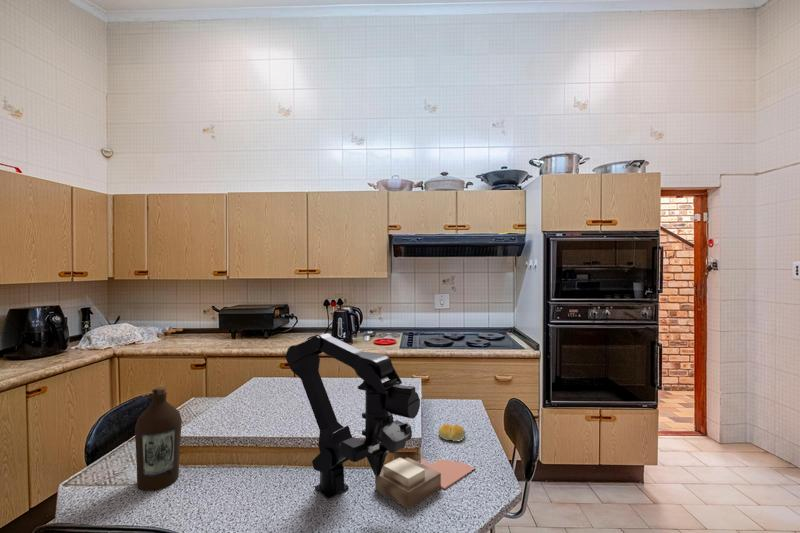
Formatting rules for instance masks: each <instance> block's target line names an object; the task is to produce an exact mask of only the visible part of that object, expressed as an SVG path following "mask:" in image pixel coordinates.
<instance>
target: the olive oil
mask: <svg viewBox="0 0 800 533" xmlns="http://www.w3.org/2000/svg"><path fill="white" fill-rule="evenodd" d="M151 391H152V392H151V393H152V394H151V403H150V404H149V406H148V407H147V408H146V409H145V410H144V411H143V412H142V413H141V414H140V415H139V417H138V418H137V421H136V423H135V426H134V439H135V440H134V441H135V442H134V443H135V459H136V463H135V464H136V486H137V487H136V488H137V489H138V490H139V491H141V492H155V491H160V490H162V489H165V488H167V487H169V486H171V485H173V484H174V483H175V482H177V480H178V479H179V476H180V473H179V471H180V452H181V436H182V423H183V422H182V415H181V412H180V411H179V410H178V409H177V408H176V407H174V406H173V405H172V404H171V403H169V402H168V401H167V387H166V386H157V387H154V388H152V389H151Z"/></svg>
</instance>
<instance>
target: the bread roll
mask: <svg viewBox="0 0 800 533" xmlns="http://www.w3.org/2000/svg"><path fill="white" fill-rule="evenodd" d="M439 435H440V436H439ZM438 436H439V438H440V437H442V438H443V439H446V440H454V441H457V440H461V439H463V437H464V436H465V437H466V430H465V429H464V428H463V427H462V426H460V425H458V424H454V425H451V424H448V423H445V424H443V425H441V426H440V427H439V428H438ZM465 437H464V438H465ZM442 438H441V439H442ZM443 439H442V440H443ZM446 440H445V441H446ZM463 440H464V439H463Z"/></svg>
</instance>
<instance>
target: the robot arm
mask: <svg viewBox="0 0 800 533" xmlns="http://www.w3.org/2000/svg"><path fill="white" fill-rule="evenodd" d="M321 354H326V355H327V356H329V357H331V358H333V359H335V360H337V361H338V362H341V363H343V364H344V365H346V366H348V367H351V368H352V369H353V370H354V372H355V374H356V375H357V376H358V378H360V379H361V380H363V381H362V383H360V385H358V386H357V389H358V390H360V391H364V393H365V394H364V395H365V403H364V404H365V409H364V410H365V412H362V413H361V418H363V419H364V420H365V421H364V422H365V425H364V426H365V427H364V429H363V430H361V435H362V436H364V439H362V440H360V439H358V438H357V437H354V436H352V432H351V429H350V427H349V426H348V425H345V426H343V425H342V424H341V423H339V421H338V419H337V416H336V414H335V411H334V408H333V405H332V403H331V400H330V397H329V395H328V392H327V390H326V387H325V385H324V382H323V379H322V376H321V374H320V364H321V363H320V362H321V358H320V355H321ZM285 360H286V362H287V364H288V366H289V368H290V370H291V372H293V374H294V375H296V376H297V377H298V378H299V379H300V380H301V383H302V385H303V388H304V391H305V394H306V396H307V400H308V403H309V405H310V407H311V410H312V413H313V415H314V419H315V420H316V421H315V422H316V424H317V426H318V430H319V435H318V436H319V437H318V449H319V452H320V453H318V454H317V455H316V457H314V458H313V459H312V461H311V464H312V467H313V470H314V471H317V472H319V484H317V485H314V489H315V491H317V492H319V493H320V494H321V495H323V497H325V498H326V499H331V498H333V497H335V496H337V495H339V494H341V493H343V492H345V491H347V490H348V489H349V487H350V486H349V485H348V484H346V483H345V473H344V472H345V466H344V463H346V462H348V461H350V462H353V463H358V462H360V461H361V460H364V459H366V460H367V461H368V463H369V465H370V467H371V470H372V472H373V475H374V476H375V475H376V476H379V475H380V473H381V470H383V465H385V459H386V457H387V455H388V453H391V454H395V453H397V452H398V451H399V450H400V449H404V448H405V445H406V441H408V440H411V437H412V429H411V425H410V424H409V423H410V422H409V423H408V421H406V423H403V422H404V421H401V420H397V419H396V420H394V415H395V416H400V417H402V418H403V417H404V418H406V419H407V418H408V419H415V418H416V417H417V415H418V414H419V411H420V407H421V399H420V397H419V394H418V392H416V387H415V386H414V385H413V386H412V385H403V384H402V383H403V381H402V380H401V378H400V376H399V374H398V373H397V370H396V369H395V367H394V366H393V365H394V364H393V363H392V359H391V358H390V357H389V356H387V355H385V354H381V353H376V352H369V351H363V350H361V349H359V348H357V347H355V346H352V345H351V344H348V343H347V342H345V341H342V340H340V339H338V338H337V337H334V336H332V334H330V333H327V332H326V333H319V334H315V335H314V336H312V337H311V338H309V339H307V340H305V341H303V342H301V343H297V344H294V345H290V346H289V347H288V348H287V350H286V353H285ZM386 379H388V380H386ZM384 380H386V381H384ZM382 381H384V382H382Z"/></svg>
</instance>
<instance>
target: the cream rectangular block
mask: <svg viewBox="0 0 800 533" xmlns="http://www.w3.org/2000/svg"><path fill="white" fill-rule="evenodd" d="M404 459H405V458H402V457H397V458H396V459H393V460H392V461H389V462H388V463H386V464H385V463H384V464H383V467H382V470H383V473H384V474H386V475H388V476H389V477H391V478H393V479H395V480H397V481H398V482H400V483H402V484H404V485H406V486H407V487H410V486H411V485H413V484H415V483H416V482H418V481H420V480H422V479H423V478H425V469H423V468H421V467H419V466H417V465H415V464H412V463H410V462H408V461H406V460H404Z"/></svg>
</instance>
